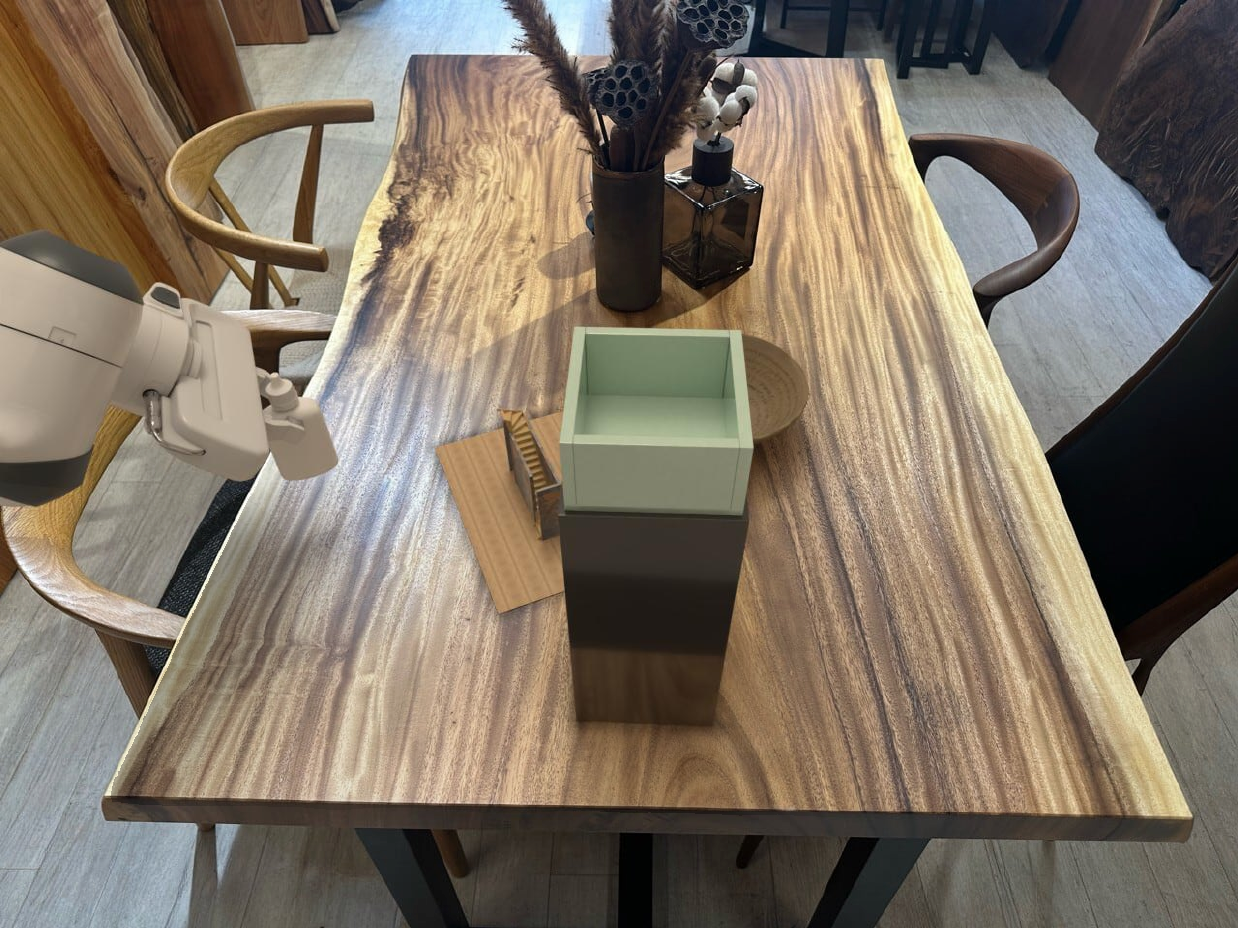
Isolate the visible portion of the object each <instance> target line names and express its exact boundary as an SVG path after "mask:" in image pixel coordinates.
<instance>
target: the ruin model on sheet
mask: <svg viewBox="0 0 1238 928" xmlns="http://www.w3.org/2000/svg"><path fill="white" fill-rule="evenodd" d="M496 412H499V413H500V415H501V418H502V419H501V421H502V423H501V424H502V428H498V429H495V430H491V431H487V432H485V433H481V434H477V435H474V436H470V437H466V438H463V439H459V440H456V441H453V442H449V443H446V444H443V445H442V444H441V445H439V446H436V447H434V449H435V453H436V454H437V457H438V459H439V462H440V465H441V468H442V470H443V474H444V475H445V478H446V480H447V484H448V486H449V489H450V491H451V494H452V496H453V499H454V501H455V504H456V507H457V509H458V512H459V514H460V518H461V520H462V522H463V525H464V528H465V531H466V533H467V535H468V539H469V541H470V543H471V545H472V549H473V551H474V553H475V556H476V559H477V563H478V564H479V566H480V570H481V572H482V574H483V578H484V581H485V582H486V585H487V587H488V591H489V593H490V595H491V596H490V597H491V598H492V600H493V603H494V606H495V608H496V611H497V614H498V615H499V614H503V613H506V612H509V611H511V610H514V609H517V608H520V607H522V606H525V605H528V604H531V603H534V602H537V601H539V600H542V599H545V598H548V597H551V596H553V595H557V594H560V593H562V592H564V581H563V570H562V559H561V548H560V537H559V526H558V507H559V499H560V491H561V483H562V474H561V461H560V449H559V439H560V432H561V424H562V417H563V410H561V411H558V412H554V413H551V414H547V415H544V416H540V417H537V418H533V419H529V418H528V416H527V415H526V413H525V412H524V410H523V409H503V408H496Z"/></svg>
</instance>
